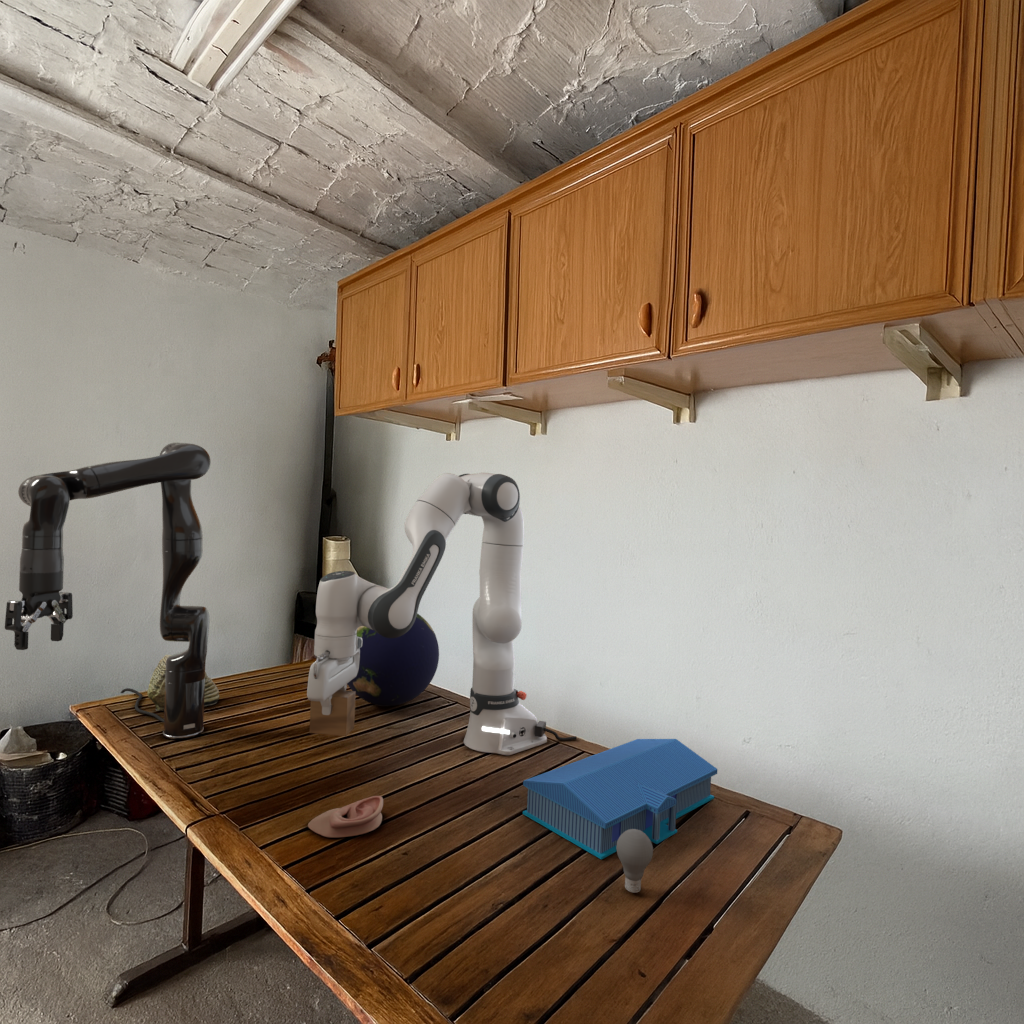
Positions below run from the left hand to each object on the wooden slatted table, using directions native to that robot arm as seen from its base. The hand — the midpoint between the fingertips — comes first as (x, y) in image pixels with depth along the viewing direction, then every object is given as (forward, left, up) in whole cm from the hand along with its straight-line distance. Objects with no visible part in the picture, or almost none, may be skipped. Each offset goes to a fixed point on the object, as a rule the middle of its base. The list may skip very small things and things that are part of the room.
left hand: (39, 645), depth 135 cm
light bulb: (+106, +68, -29) cm, 129 cm away
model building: (+88, +91, -29) cm, 130 cm away
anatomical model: (+57, +42, -29) cm, 77 cm away
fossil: (-32, +38, -29) cm, 58 cm away
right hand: (+41, +47, -12) cm, 64 cm away
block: (+41, +47, -17) cm, 65 cm away
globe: (+1, +87, -29) cm, 92 cm away
